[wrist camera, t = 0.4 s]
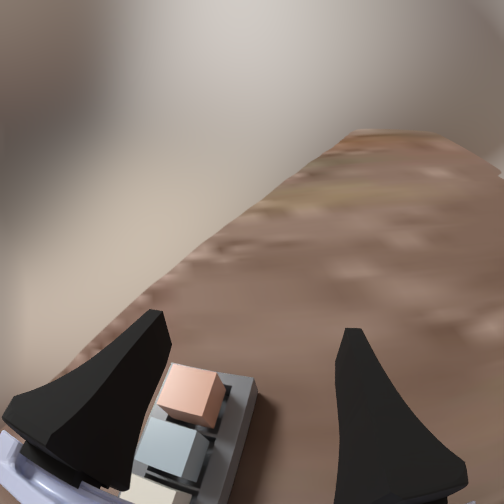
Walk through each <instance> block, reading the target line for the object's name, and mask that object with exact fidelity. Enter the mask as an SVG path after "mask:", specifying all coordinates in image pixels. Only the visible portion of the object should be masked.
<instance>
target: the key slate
mask: <svg viewBox="0 0 504 504" xmlns="http://www.w3.org/2000/svg"><path fill="white" fill-rule="evenodd" d="M209 442H210V441H208V440H207V439H206V438H205V437H204V436H203V435H201V434H200V433H199V432H198V431H196V430H193V429H189V428H186V427H182V426H179V425H175V424H172V423H169V422H166V421H162V420H159V419H156V418H153V417H151V418H150V421H149V423H148V425H147V428H146V430H145V433H144V435H143V438H142V440H141V443H140V445H139V448H138V450H137V453H136V455H135V458H134V459H135V460H137V461H139V462H142V463H144V464H146V465H149V466H151V467H154V468H156V469H159V470H161V471H164V472H167V473H170V474H172V475H175V476H178V477H181V478H184V479H187V480H190V481H194V482H197V479H198V476H199V473H200V470H201V467H202V464H203V461H204V458H205V455H206V452H207V449H208V445H209Z"/></svg>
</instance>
